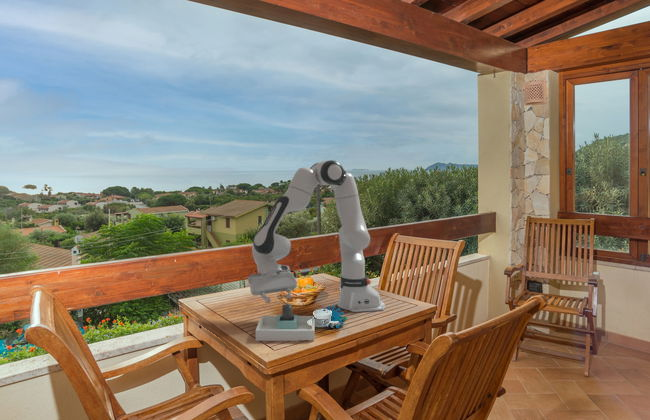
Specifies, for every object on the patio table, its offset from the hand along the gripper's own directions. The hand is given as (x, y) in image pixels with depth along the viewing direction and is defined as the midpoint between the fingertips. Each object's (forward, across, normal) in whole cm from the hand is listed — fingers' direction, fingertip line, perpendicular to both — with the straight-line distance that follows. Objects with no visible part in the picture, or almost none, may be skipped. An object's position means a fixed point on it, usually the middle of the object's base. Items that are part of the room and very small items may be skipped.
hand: (278, 300), depth 171 cm
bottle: (+12, 0, +1) cm, 12 cm away
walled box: (+14, -1, 0) cm, 14 cm away
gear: (+17, +19, -2) cm, 25 cm away
